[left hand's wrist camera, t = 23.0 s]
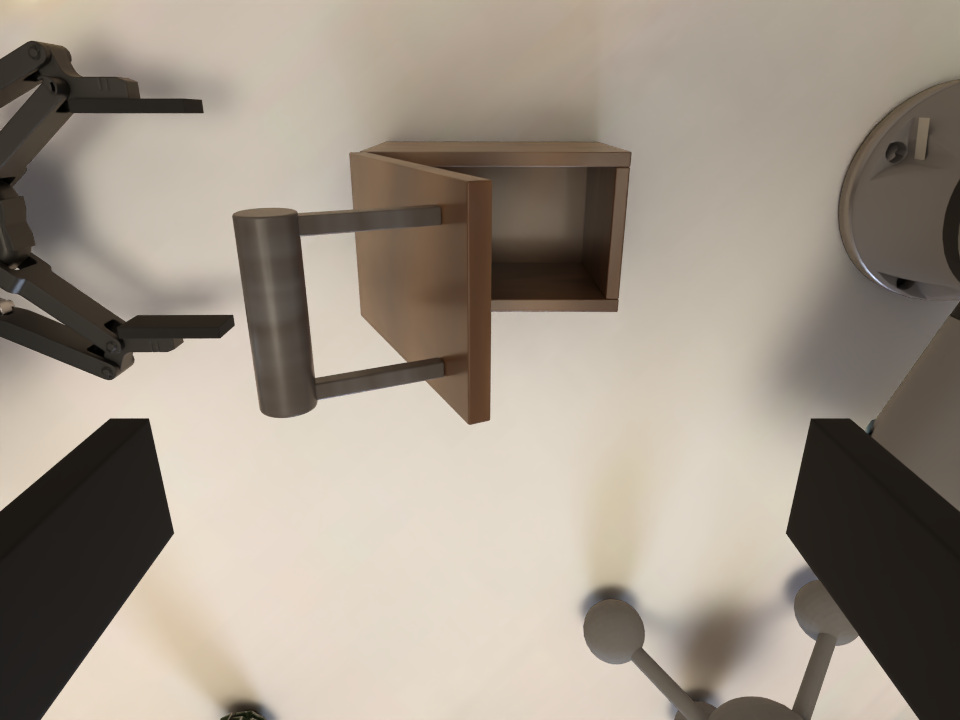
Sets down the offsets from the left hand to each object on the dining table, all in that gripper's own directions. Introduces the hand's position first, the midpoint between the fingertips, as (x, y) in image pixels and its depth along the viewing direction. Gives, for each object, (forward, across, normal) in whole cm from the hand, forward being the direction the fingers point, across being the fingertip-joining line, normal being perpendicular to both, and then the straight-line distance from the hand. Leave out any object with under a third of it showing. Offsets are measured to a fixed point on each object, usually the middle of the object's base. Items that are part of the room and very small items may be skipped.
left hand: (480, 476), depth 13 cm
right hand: (+29, -17, 0) cm, 34 cm away
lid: (+18, -3, 0) cm, 19 cm away
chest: (+36, +1, 0) cm, 36 cm away
